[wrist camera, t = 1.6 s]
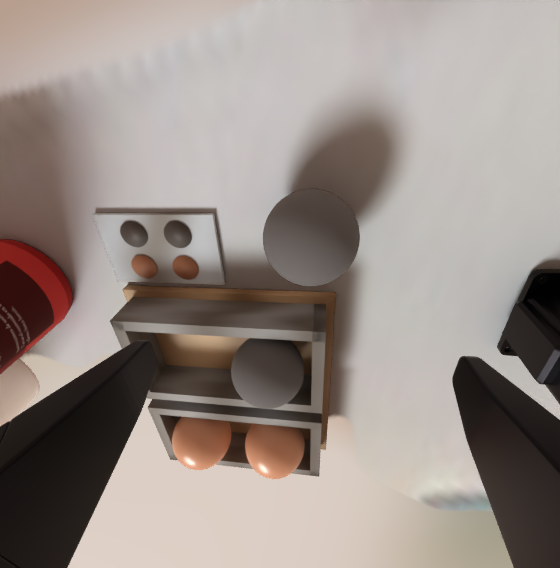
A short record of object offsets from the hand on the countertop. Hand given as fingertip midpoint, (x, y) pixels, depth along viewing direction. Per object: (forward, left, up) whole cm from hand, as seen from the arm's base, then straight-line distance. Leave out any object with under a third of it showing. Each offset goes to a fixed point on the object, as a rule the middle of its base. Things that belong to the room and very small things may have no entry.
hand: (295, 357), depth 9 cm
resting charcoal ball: (+3, +10, -8) cm, 13 cm away
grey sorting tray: (+6, +11, -11) cm, 17 cm away
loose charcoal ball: (0, 0, -9) cm, 9 cm away
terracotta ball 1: (+9, +19, -8) cm, 22 cm away
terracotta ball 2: (+3, +18, -8) cm, 20 cm away
